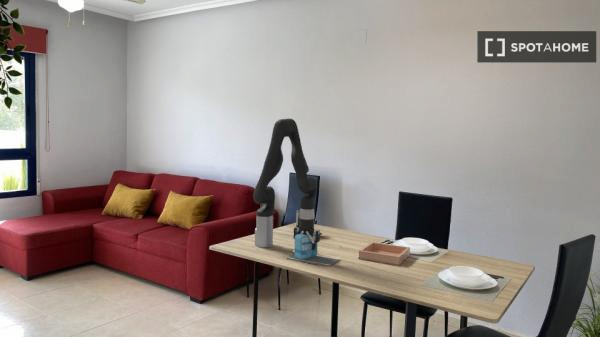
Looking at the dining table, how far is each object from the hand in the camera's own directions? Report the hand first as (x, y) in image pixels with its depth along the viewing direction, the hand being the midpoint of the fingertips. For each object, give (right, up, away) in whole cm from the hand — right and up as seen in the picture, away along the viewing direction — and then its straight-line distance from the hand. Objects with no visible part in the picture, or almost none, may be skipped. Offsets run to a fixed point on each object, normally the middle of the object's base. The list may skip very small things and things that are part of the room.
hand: (306, 248), depth 230 cm
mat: (+3, -5, -1) cm, 6 cm away
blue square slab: (0, -4, 0) cm, 5 cm away
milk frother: (+2, 0, +48) cm, 48 cm away
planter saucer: (+41, -5, +5) cm, 41 cm away
